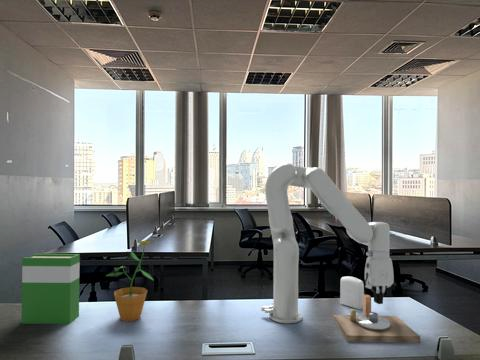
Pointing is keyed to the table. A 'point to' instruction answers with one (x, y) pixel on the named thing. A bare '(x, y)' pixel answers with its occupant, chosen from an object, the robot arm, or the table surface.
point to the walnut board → (360, 334)
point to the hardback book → (50, 288)
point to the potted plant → (130, 292)
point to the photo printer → (351, 292)
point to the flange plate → (373, 326)
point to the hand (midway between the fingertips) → (378, 302)
